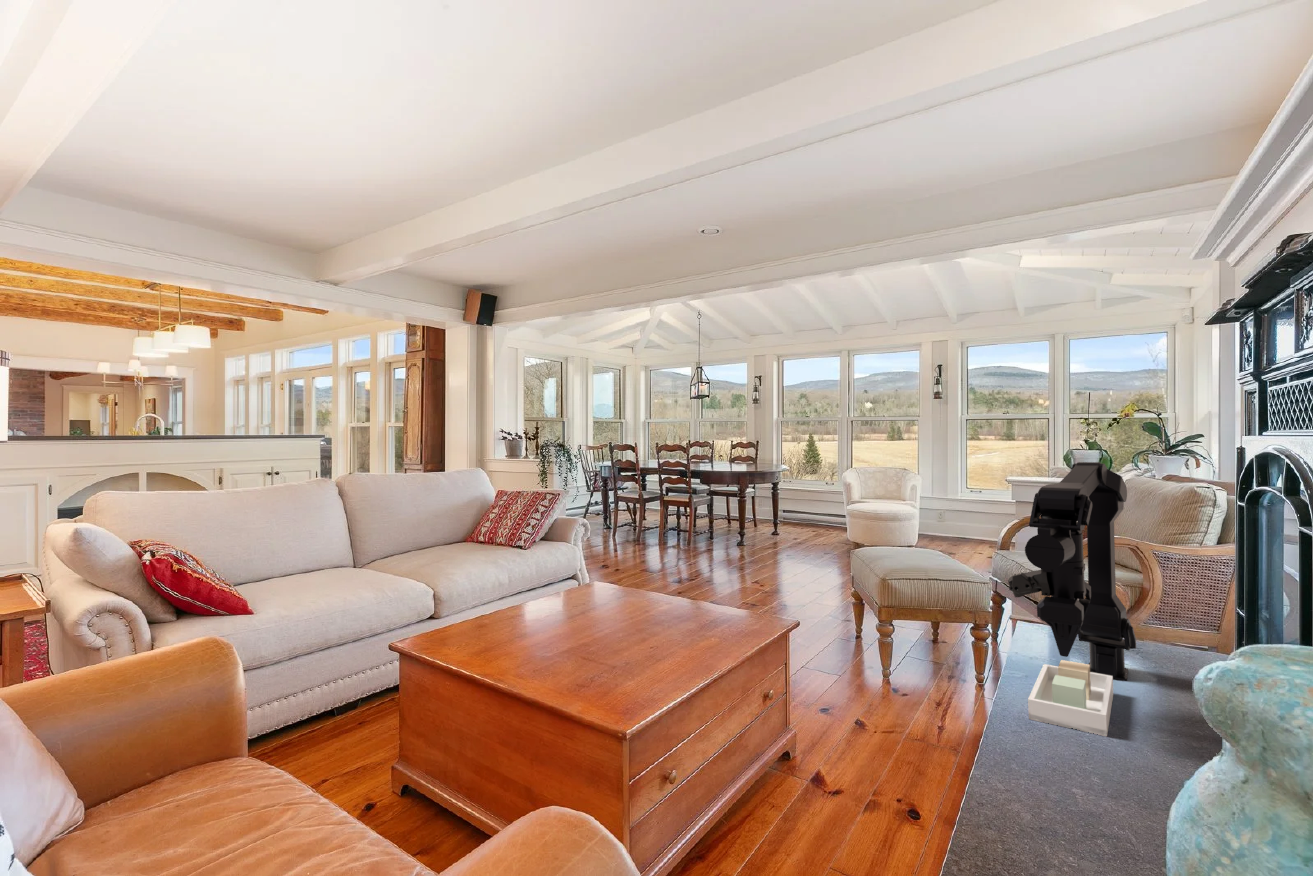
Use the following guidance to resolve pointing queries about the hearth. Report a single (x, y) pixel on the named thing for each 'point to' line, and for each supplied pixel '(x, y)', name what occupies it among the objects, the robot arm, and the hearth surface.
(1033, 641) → the hearth surface
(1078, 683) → the green block
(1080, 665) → the birch block
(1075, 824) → the hearth surface
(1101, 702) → the tray
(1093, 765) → the hearth surface
